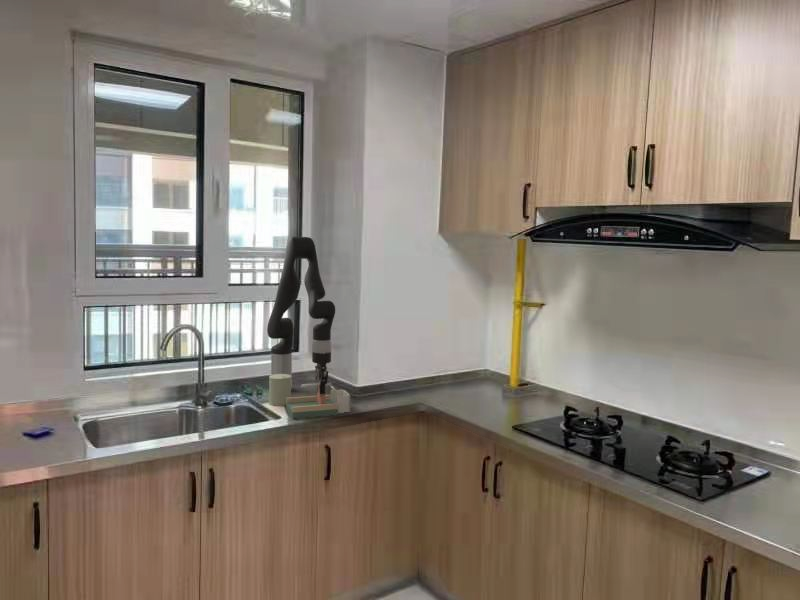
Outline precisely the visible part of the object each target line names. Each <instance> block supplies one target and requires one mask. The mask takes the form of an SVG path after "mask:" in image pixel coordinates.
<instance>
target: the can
mask: <svg viewBox="0 0 800 600" xmlns="http://www.w3.org/2000/svg"><path fill="white" fill-rule="evenodd" d="M268 383H269V386H268V387H269V389H268V390H269V392H268V393H269V396H268V397H269V402H268V404H269V405H271V406H275V407H279V406H280V407H282V406H283V407H284V406H286V398H291V396H292V395H291V394H292V392H291V391H292V390H291V375H288V374H274V375H271V374H270V375H269V376H268Z"/></svg>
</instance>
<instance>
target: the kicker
mask: <svg viewBox="0 0 800 600" xmlns="http://www.w3.org/2000/svg"><path fill="white" fill-rule="evenodd" d="M331 386H333V385H332V382H327V384H326V385H325V387H331ZM319 387H320V384H319V381H318V382H316V383H304V384H303V383H302V384H301V389H307V388H317V393H316V396H317V403H318V404H319V405H322V404H326V397H325V395H326V393H325V394H320V393H319Z"/></svg>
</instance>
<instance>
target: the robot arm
mask: <svg viewBox="0 0 800 600" xmlns="http://www.w3.org/2000/svg"><path fill="white" fill-rule="evenodd" d="M316 250H317V248H316V245H315V241H314V240H313V238H311V237H309V236H308V237H307V236H291V237H289V238H288V240H287V242H286V247H285V253H284V261H283V267H282V272H281V276H280V280H279V283H278V288H277V290H276V295H275V299H274V300H275V301H274V305H273V307H272V311H271V313H270V316H269V320H268V323H267V327H266V333H267V337H269V338H270V339H275V340H277V339H281V340H280V342H278V343H277V344H275V345H273V346H272V347H271V348H270V349H271V350H270V359H271V360H270V365H271V366H270V367H271V370H270V371H271V372H270V375H274V374H288V375H291V391H292V389H293V386H292V385H293V384H292V383H293V382H292V380H293V373H292V371H293V369H292V368H293V366H292V364H293V363H292V361H293V360H292V359H293V358H292V356H293V355H292V354H293V353H292V352H293V347H294V346H293V341H294V340H293V339H294V323H293V320H292V319H291V318H290V317H284V314H285V313H286V312H287V311H288V310H289V309H290V308H291V307H292V306H293V304H295V303H296V301H297V300H298V297H299V293H300V289H301V281H300V278H299V276H298V274H297V272H296V269H295V262H296V259H297V260H298V259H299V260H300V259H302V260H303V259H306V261H307V263H308V267H307V271H306V273H305V275H304V281H303V282H304V287H305V290H306V293H307V297H308V314H309V316H310V318H312V319H313V320H321V319H323V320H322V321H321V322H320V323H318V324H315V325H313V327H312V344H311V345H312V346H311V360H312V363H314V364H316V365H314V369H315V370H314V371H315V380H316V383H318V381H319V384H320V387H319V393H320V394H325V395H326V386H325V385H326V384H327V383H328V378H329V371H328V367H327V364H330V363H331V362H332V340H331V334H332V332H331V330H332V326H333V322H334V318H335V315H336V306H335V304H334V302H333V301H331V300H323V298H324V297H325V296H326V289H325V287H324V284H323V281H322V278H321V275H320V268H319V261H318V255H317V251H316Z"/></svg>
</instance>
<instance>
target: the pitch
mask: <svg viewBox="0 0 800 600" xmlns="http://www.w3.org/2000/svg"><path fill="white" fill-rule="evenodd" d="M325 397H326V404H322V405H319V404H318V403H317V395H310V396H309V395H308V396H294V397H291V398H286V405H285V408H286V410H287V412H288V414H289V415H290V418H291V419H292V418H297V419H306V418H305V417H309V418H317V417H316V416H321V417H328V416H327V415H333V416H338V415H339V413H338V403H336V404H333V403H332V402H331V394H325Z"/></svg>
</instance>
